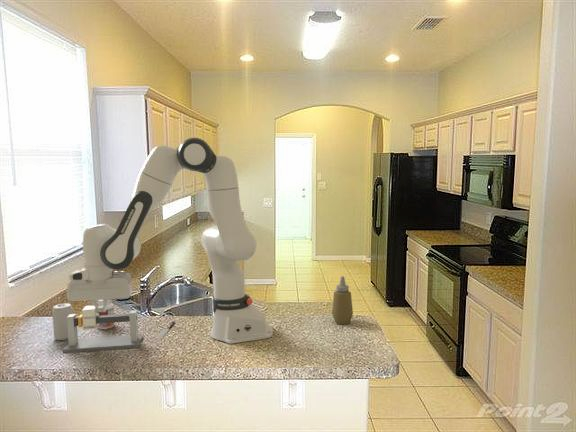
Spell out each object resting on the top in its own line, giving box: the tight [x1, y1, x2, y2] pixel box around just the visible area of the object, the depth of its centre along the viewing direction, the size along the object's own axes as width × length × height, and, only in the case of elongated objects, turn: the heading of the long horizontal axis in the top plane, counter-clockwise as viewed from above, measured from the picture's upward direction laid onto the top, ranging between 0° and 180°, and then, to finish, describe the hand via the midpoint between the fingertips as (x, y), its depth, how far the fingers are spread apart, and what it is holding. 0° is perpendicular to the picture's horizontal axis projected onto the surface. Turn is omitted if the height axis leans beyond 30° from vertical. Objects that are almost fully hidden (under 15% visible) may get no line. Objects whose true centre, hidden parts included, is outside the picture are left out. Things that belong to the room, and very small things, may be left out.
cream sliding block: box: [81, 305, 99, 331], centre depth 148 cm, size 4×5×7 cm
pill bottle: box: [97, 299, 115, 330], centre depth 166 cm, size 6×6×11 cm
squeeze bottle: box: [331, 275, 354, 325], centre depth 167 cm, size 8×8×18 cm
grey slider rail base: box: [62, 309, 144, 353], centre depth 149 cm, size 24×9×11 cm, turn 99°
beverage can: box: [51, 302, 74, 341], centre depth 155 cm, size 6×6×12 cm
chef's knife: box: [156, 321, 176, 342], centre depth 160 cm, size 19×1×3 cm
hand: (101, 311), depth 148 cm, fingers closed
